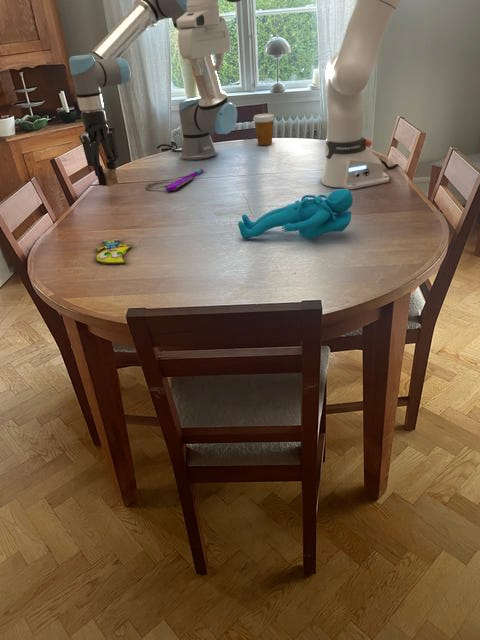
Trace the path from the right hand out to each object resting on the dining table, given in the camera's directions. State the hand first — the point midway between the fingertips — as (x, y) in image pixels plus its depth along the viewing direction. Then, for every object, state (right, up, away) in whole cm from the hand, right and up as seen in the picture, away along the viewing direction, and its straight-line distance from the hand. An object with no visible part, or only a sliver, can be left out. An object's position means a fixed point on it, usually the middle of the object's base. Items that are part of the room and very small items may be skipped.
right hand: (209, 73), depth 142 cm
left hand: (-36, -26, +23) cm, 50 cm away
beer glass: (+21, +7, +77) cm, 79 cm away
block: (-36, -26, +23) cm, 50 cm away
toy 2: (+24, -51, -13) cm, 58 cm away
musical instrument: (-15, -22, +37) cm, 46 cm away
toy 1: (-25, -55, -13) cm, 62 cm away
